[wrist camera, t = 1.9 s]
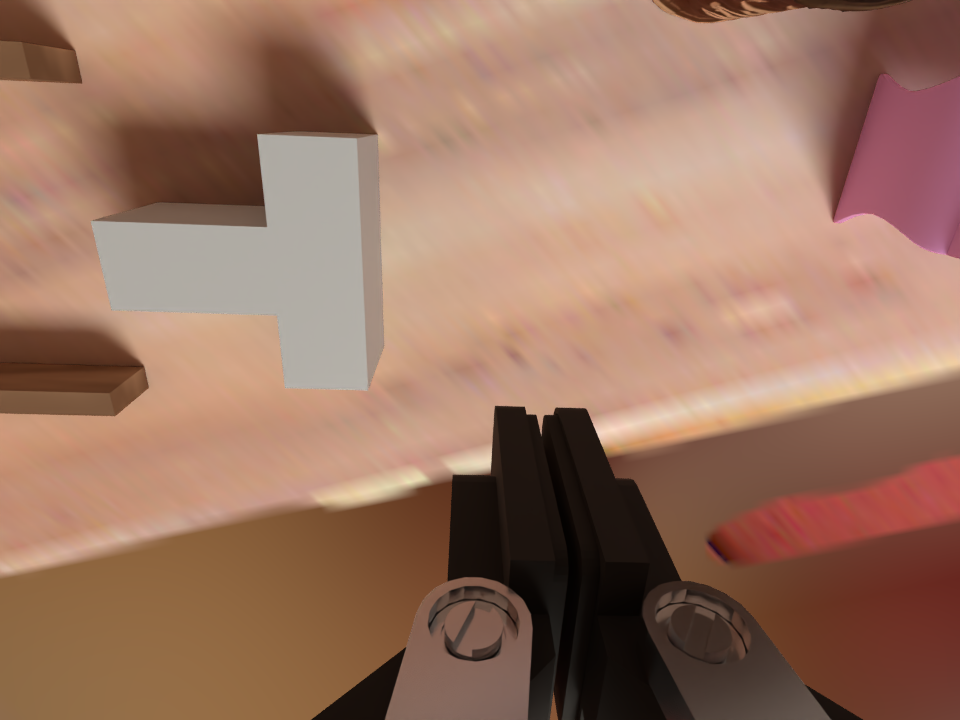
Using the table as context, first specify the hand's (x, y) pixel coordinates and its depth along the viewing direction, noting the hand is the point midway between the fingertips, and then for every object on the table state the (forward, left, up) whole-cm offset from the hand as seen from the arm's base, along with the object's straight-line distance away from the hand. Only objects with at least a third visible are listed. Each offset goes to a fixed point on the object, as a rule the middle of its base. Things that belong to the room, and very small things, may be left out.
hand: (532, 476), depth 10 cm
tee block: (0, -10, -18) cm, 21 cm away
